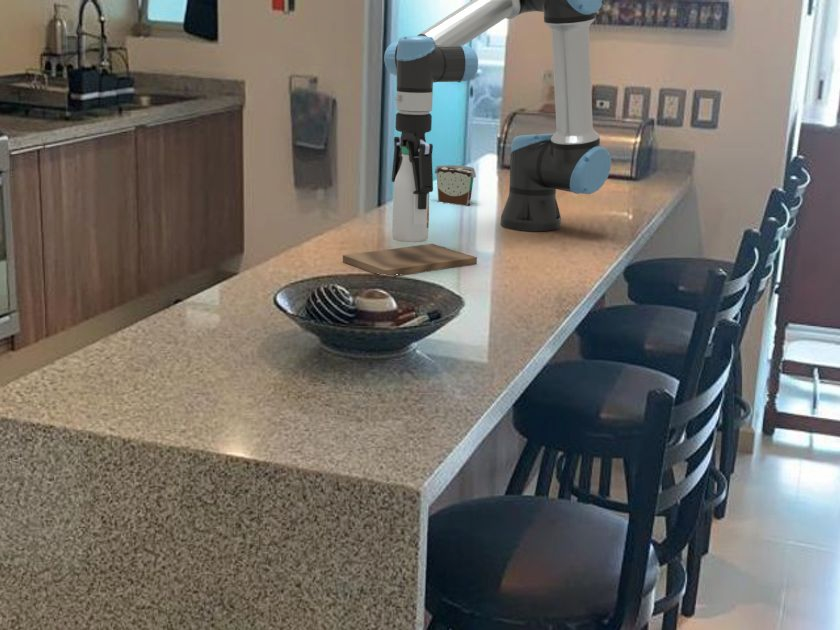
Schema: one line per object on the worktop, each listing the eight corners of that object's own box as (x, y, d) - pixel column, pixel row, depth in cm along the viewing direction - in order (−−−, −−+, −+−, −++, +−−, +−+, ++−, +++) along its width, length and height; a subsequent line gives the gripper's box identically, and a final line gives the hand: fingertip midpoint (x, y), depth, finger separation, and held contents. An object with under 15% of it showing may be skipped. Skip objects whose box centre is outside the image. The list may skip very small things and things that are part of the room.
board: (432, 250, 263) (432, 243, 263) (476, 264, 251) (477, 257, 250) (342, 262, 249) (342, 255, 249) (385, 277, 237) (385, 270, 236)
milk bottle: (424, 244, 244) (427, 149, 239) (388, 241, 245) (390, 147, 240) (431, 237, 251) (434, 144, 246) (396, 234, 253) (398, 142, 247)
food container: (483, 203, 322) (484, 168, 319) (471, 207, 317) (473, 170, 314) (445, 198, 328) (446, 163, 326) (433, 201, 323) (434, 165, 321)
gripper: (377, 107, 248) (375, 212, 254) (419, 117, 231) (416, 230, 237) (408, 107, 252) (405, 211, 258) (452, 117, 234) (448, 228, 240)
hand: (410, 220), depth 247 cm, fingers closed on milk bottle, 8 cm apart
